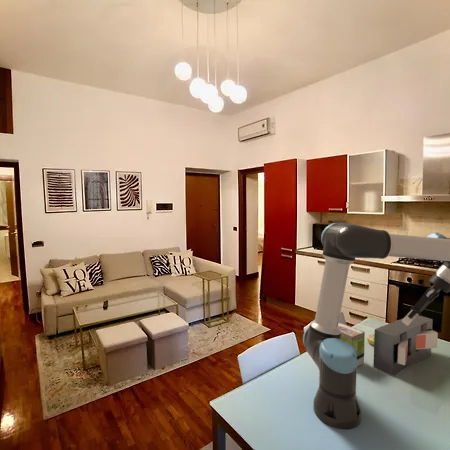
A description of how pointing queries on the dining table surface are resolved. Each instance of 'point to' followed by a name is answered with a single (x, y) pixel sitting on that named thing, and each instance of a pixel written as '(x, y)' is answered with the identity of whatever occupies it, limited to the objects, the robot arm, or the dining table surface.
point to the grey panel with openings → (389, 342)
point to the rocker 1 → (402, 352)
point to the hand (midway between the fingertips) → (404, 323)
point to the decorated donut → (371, 339)
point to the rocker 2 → (426, 340)
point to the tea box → (354, 340)
